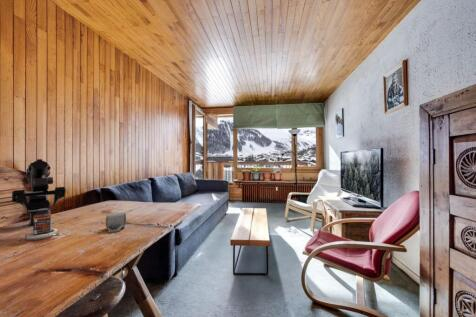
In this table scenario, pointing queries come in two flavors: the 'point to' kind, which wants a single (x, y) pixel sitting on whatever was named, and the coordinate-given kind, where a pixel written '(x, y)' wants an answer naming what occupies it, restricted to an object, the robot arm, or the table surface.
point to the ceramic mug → (116, 221)
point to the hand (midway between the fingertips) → (41, 208)
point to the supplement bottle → (42, 222)
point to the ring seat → (39, 237)
